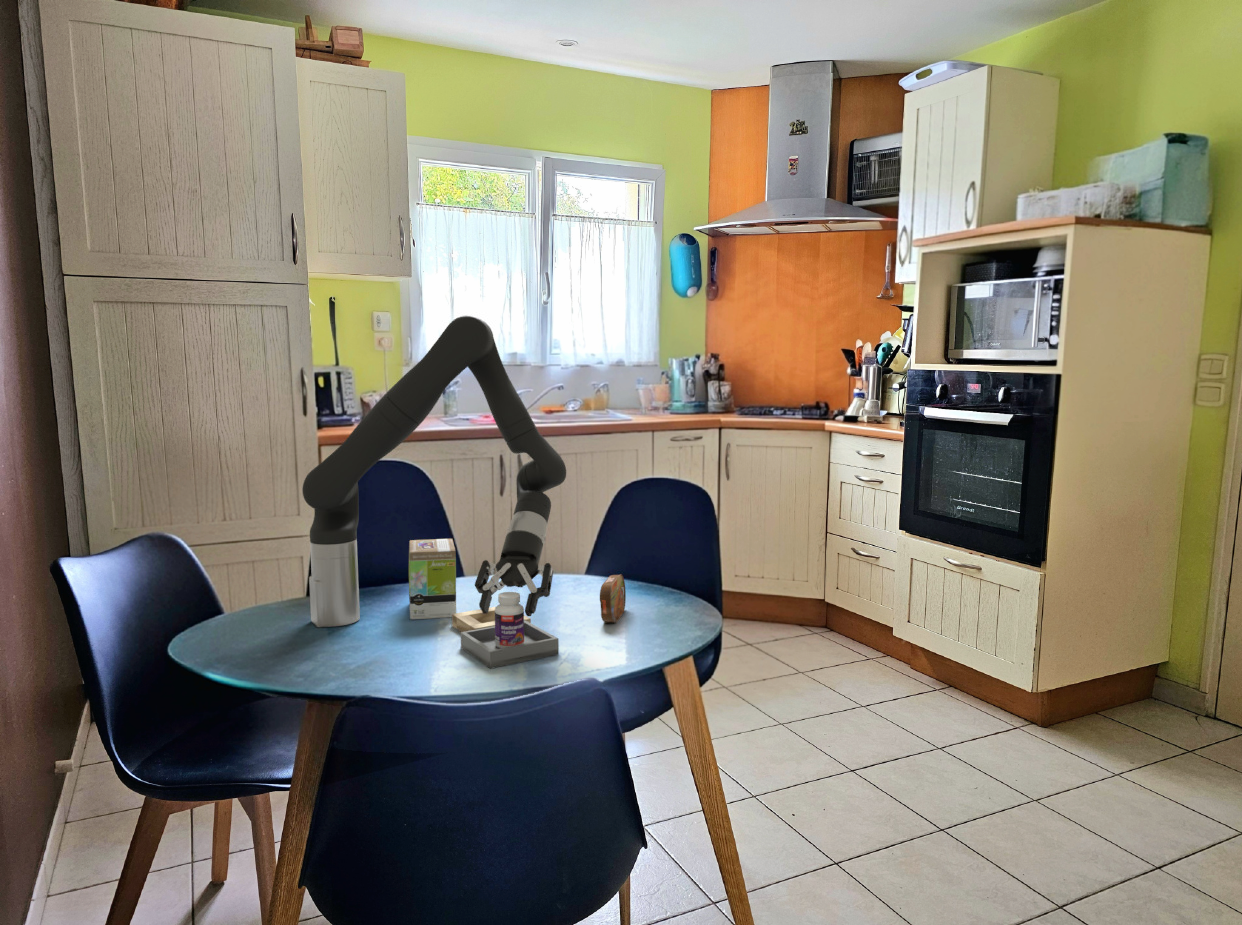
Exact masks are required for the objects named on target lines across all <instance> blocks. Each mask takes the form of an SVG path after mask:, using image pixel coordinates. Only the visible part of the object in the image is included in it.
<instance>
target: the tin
mask: <svg viewBox="0 0 1242 925" xmlns="http://www.w3.org/2000/svg"><path fill="white" fill-rule="evenodd" d="M626 595H627V593H626V582H625V578H624V576H623V574H612V575H609V576H608V577H607V578H606V579H605V581H604V582H603V583H602V584H601V587H600V590H599V603H600V617H601V620H602V622H603V623H608V624H610V623H614V624H617V622H618V621H619V620H620V618H621V616H622V615H623V613H624V612H625V609H626V601H627V600H626V598H627V597H626Z"/></svg>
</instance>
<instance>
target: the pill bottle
mask: <svg viewBox="0 0 1242 925" xmlns="http://www.w3.org/2000/svg"><path fill="white" fill-rule="evenodd" d="M497 601H498V605H496V606H495V607H496V608H495V645H496V646H497V647H498V648H505V647H510V646H515V645H520V644H524V615H525V608H524V606H523V605H522V604H520V603H521V594H520V593H519V592H516V591H504V592H500V593H499V594H498V600H497Z"/></svg>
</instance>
